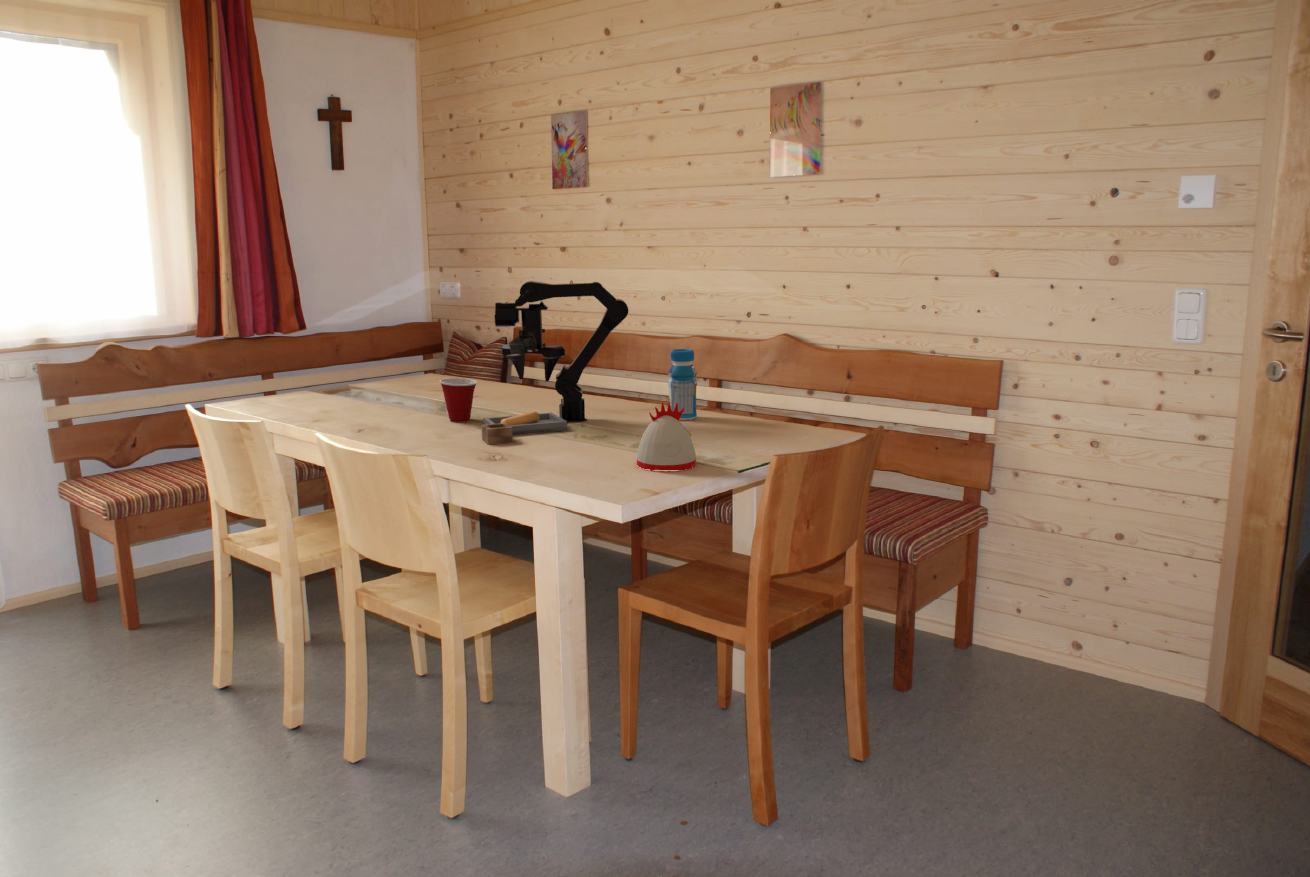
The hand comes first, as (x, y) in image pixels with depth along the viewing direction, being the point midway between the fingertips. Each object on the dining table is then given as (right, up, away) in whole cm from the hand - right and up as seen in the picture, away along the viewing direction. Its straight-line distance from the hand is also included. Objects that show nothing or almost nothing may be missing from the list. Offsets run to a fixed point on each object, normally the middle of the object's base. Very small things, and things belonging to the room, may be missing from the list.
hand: (534, 380), depth 280 cm
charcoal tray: (-2, -14, -8) cm, 16 cm away
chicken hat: (+37, -23, -52) cm, 68 cm away
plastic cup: (-22, -12, +5) cm, 25 cm away
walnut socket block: (-7, -17, -24) cm, 30 cm away
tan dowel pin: (+1, -11, -4) cm, 11 cm away
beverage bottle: (+43, -11, +4) cm, 44 cm away
